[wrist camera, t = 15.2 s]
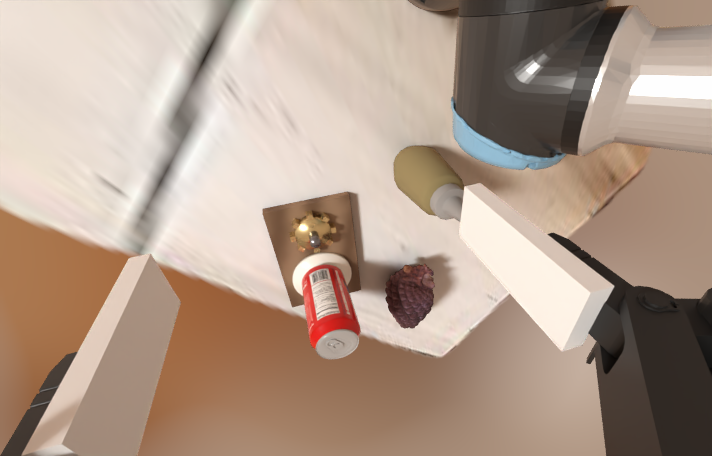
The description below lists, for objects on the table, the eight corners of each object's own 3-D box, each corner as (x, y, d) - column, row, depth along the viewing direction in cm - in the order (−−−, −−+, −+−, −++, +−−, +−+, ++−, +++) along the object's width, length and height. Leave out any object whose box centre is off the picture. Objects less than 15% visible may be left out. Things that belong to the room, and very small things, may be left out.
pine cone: (414, 306, 73) (433, 342, 65) (374, 312, 71) (388, 350, 63) (429, 246, 64) (453, 279, 56) (383, 250, 61) (401, 286, 53)
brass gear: (331, 206, 51) (335, 218, 48) (337, 242, 56) (341, 256, 52) (284, 215, 50) (286, 229, 47) (294, 252, 54) (296, 267, 51)
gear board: (347, 191, 52) (349, 195, 51) (359, 284, 65) (360, 289, 64) (262, 209, 50) (262, 213, 49) (291, 301, 63) (292, 307, 62)
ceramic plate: (347, 245, 57) (348, 248, 56) (353, 288, 63) (354, 291, 62) (286, 259, 55) (286, 262, 54) (298, 301, 61) (299, 304, 61)
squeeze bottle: (440, 163, 54) (506, 218, 39) (403, 193, 55) (453, 257, 41) (417, 128, 49) (482, 175, 35) (377, 162, 51) (422, 221, 36)
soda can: (320, 254, 55) (337, 320, 43) (351, 273, 59) (374, 338, 47) (291, 282, 57) (300, 353, 45) (323, 298, 61) (338, 367, 49)
